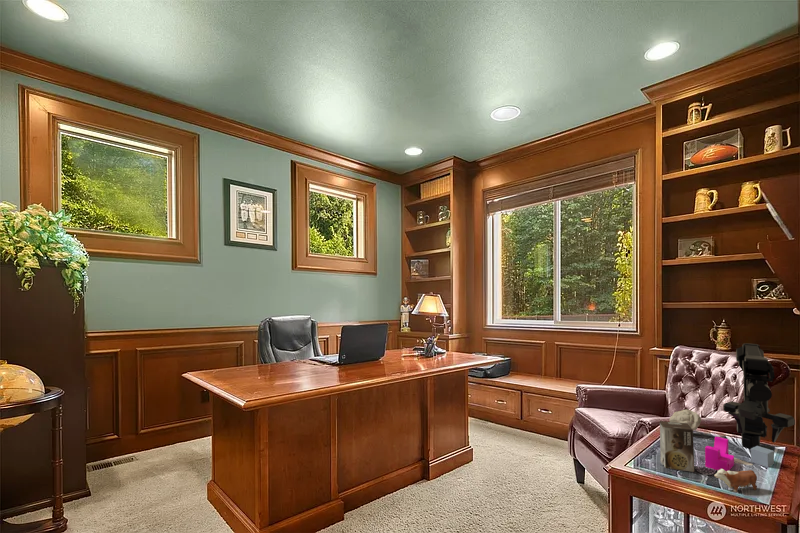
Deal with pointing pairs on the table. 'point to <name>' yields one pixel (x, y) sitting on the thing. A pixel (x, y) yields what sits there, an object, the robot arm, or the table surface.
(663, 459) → the beige tall box
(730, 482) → the bull figurine
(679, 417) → the fossil replica
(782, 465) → the table surface
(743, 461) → the letter
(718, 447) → the toy block
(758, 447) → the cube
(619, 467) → the table surface
